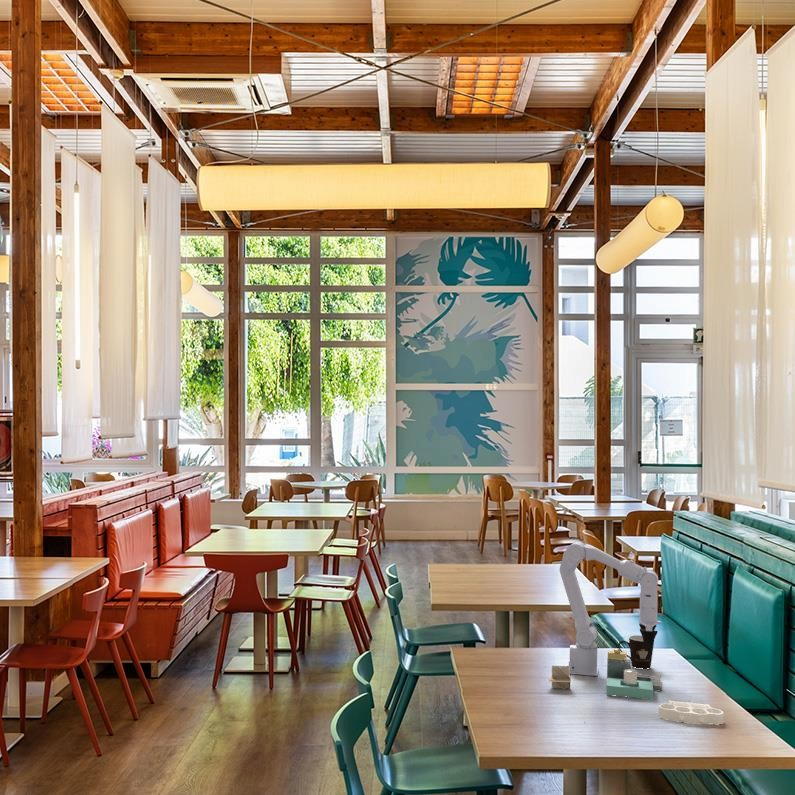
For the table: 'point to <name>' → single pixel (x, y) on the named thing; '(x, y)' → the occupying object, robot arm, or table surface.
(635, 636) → the coffee mug
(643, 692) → the holder
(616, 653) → the yellow small block
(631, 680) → the white upright block
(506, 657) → the table surface
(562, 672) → the architectural model
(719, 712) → the white brass knuckles
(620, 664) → the socket block
